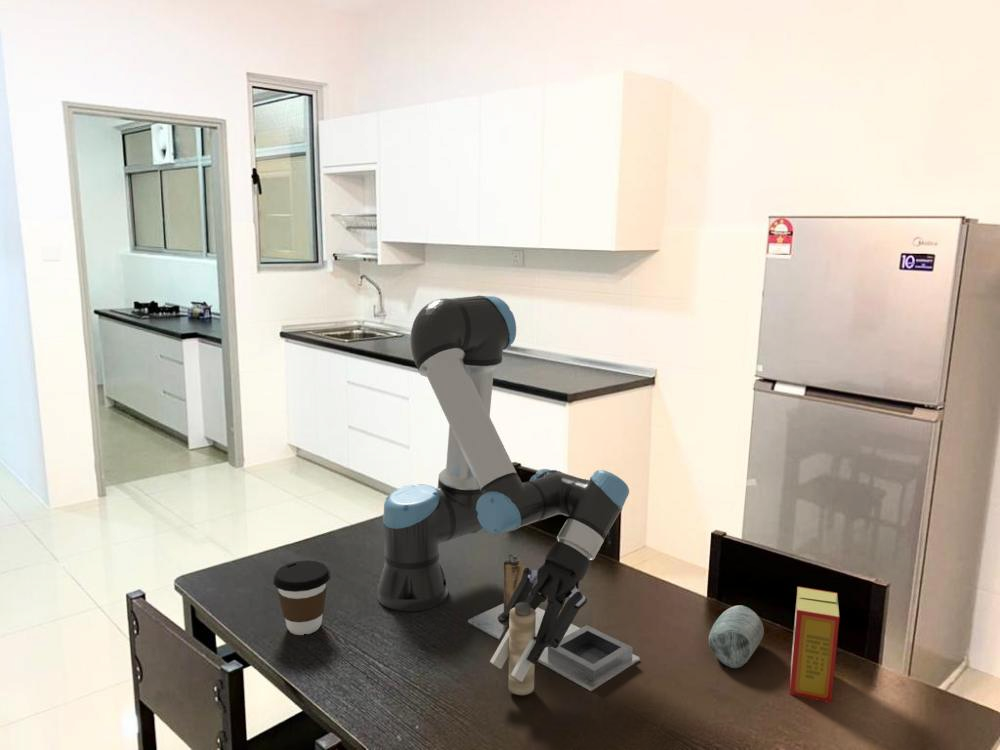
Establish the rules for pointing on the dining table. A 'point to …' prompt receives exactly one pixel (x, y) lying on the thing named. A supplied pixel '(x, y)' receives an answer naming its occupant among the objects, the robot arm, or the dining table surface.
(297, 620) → the coffee cup
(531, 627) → the birch leg peg
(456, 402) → the robot arm
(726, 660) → the spool
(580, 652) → the bolt plate
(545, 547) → the dining table surface
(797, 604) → the baking soda box
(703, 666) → the dining table surface
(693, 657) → the dining table surface
